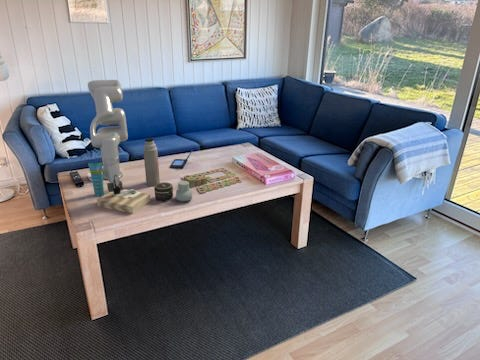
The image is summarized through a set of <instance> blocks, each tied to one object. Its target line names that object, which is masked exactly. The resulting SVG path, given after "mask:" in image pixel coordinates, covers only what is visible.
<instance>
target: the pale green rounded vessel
mask: <svg viewBox="0 0 480 360" xmlns="http://www.w3.org/2000/svg"><path fill="white" fill-rule="evenodd" d="M177 185H178V186H177V187H178V188H177V189H176V190H175V191H176V192H175V199H176V200H177V201H179V202H188V201H190V200H192V198H193V190H192V189H193V188H189V182H188V181H184V180H181V181H179V182H178V184H177Z"/></svg>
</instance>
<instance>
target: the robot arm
mask: <svg viewBox="0 0 480 360" xmlns="http://www.w3.org/2000/svg"><path fill="white" fill-rule="evenodd" d="M87 89H88V92H89V93H90V95H91V97H92V99H93V101H94V105H95V112H96V115H95V117H94V118H93V119H92V121H91V123H90V127H89V134H90V141H91V145H92V147H93V148H97V149H98V148H99V149H100V153H101V160H102V176H103V180H108V183H113V186H114V187H113V189H114V195H116V194H120V186H119V181H121V180H120V179H121V178H122V177H123V175H124V174H123V172H122V171H121V170H120V157H119V147H118V146H119V145H120V143H122V142H126V141H127V140H128V137H129V135H128V128H127V127H128V125H127V118H126V112H125V111H124V109H123V108H120V107H113V103H120V102H122V101H123V98H124V95H123V90H122V89H123V88H122V85H121V83H120V81H119V80H117V79H97V80H96V79H95V80H90V81H88V83H87ZM99 125H100V126H105V127H99V128H98V129H97V127H98V126H99ZM114 125H116V126H114ZM117 125H118V126H117ZM96 130H97V131H96ZM114 183H116V184H114Z"/></svg>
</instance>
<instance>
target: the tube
mask: <svg viewBox="0 0 480 360" xmlns="http://www.w3.org/2000/svg"><path fill="white" fill-rule="evenodd" d="M87 166H88V169H89V172H90V176H91V177H90V178H91V182H92V186H93V192H94V196H96V197H102V196H103V195H105V192H104V179H103V176H102V174H103V172H102V168H103V162H87Z"/></svg>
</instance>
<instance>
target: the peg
mask: <svg viewBox="0 0 480 360" xmlns="http://www.w3.org/2000/svg"><path fill="white" fill-rule="evenodd" d="M114 184H116V183H114ZM106 185H107V191H108V193H109V192H113V194H114V189H113V187H114V186H113V183H110V182H107V183H106ZM119 186H120V190H123V189H124V188H123V182H122V181H121V180H120V181H119ZM126 190H127V191H121V192H120V193H125V192H130V191H134V190H135V188H134V189H133V188H132V189H131V190H128V189H126ZM117 195H118V194H116V195H114V196H117Z"/></svg>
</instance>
